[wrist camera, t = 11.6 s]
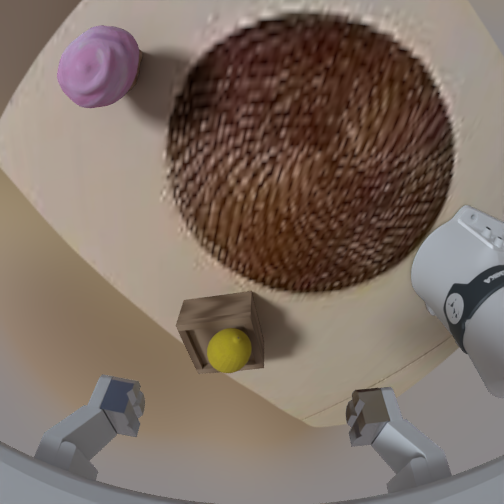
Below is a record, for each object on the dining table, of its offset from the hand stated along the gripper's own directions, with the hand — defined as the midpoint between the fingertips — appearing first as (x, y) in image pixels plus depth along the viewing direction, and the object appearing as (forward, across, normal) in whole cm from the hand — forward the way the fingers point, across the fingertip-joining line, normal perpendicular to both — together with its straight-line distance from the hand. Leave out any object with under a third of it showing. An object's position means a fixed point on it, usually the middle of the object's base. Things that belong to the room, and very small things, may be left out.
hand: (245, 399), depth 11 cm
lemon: (+23, +4, +24) cm, 33 cm away
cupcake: (+29, +16, -14) cm, 36 cm away
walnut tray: (+30, +4, +22) cm, 37 cm away
